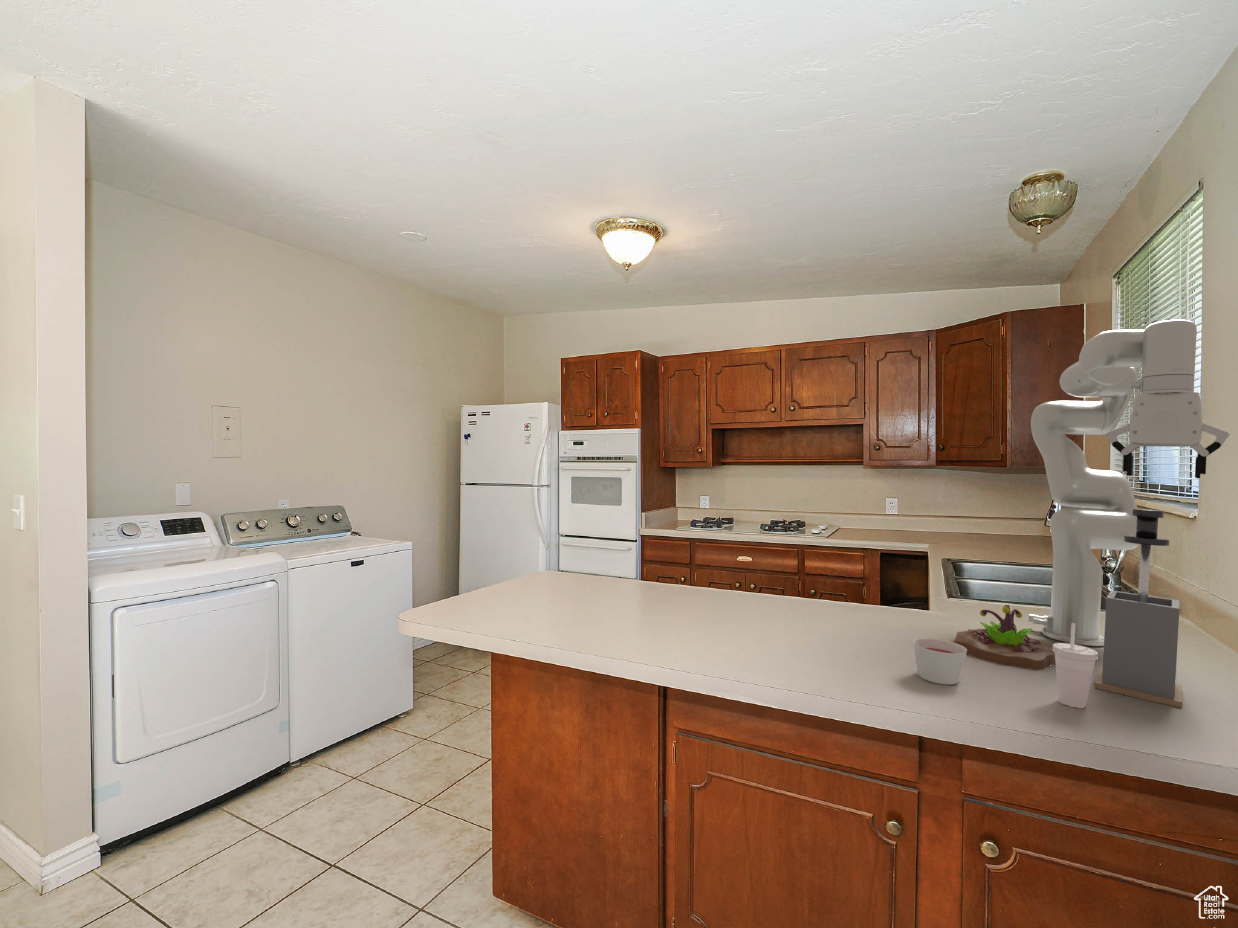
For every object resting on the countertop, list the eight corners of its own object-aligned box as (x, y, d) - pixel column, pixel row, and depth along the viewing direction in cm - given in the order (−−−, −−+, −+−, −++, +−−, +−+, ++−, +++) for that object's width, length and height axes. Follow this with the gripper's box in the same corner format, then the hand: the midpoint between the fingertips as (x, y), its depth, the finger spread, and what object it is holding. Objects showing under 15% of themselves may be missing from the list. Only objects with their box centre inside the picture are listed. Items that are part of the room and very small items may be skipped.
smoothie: (1040, 696, 108) (1044, 618, 107) (1073, 696, 108) (1078, 618, 108) (1070, 711, 101) (1074, 628, 101) (1105, 711, 102) (1110, 629, 102)
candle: (903, 668, 119) (905, 637, 119) (949, 671, 119) (951, 639, 119) (925, 686, 110) (927, 652, 110) (975, 688, 110) (977, 654, 110)
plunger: (1115, 638, 113) (1122, 509, 112) (1117, 631, 118) (1124, 507, 118) (1165, 648, 108) (1173, 512, 108) (1166, 640, 113) (1173, 511, 113)
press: (1094, 687, 113) (1099, 597, 113) (1100, 672, 122) (1104, 588, 121) (1181, 707, 105) (1187, 610, 104) (1181, 689, 114) (1186, 600, 113)
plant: (941, 651, 133) (944, 601, 132) (965, 634, 147) (968, 589, 147) (1052, 677, 119) (1055, 620, 119) (1067, 655, 133) (1069, 605, 133)
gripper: (1106, 387, 118) (1102, 474, 118) (1232, 382, 106) (1227, 479, 106) (1110, 391, 123) (1106, 475, 123) (1230, 387, 111) (1226, 479, 111)
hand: (1162, 476), depth 115 cm, fingers open, 9 cm apart
